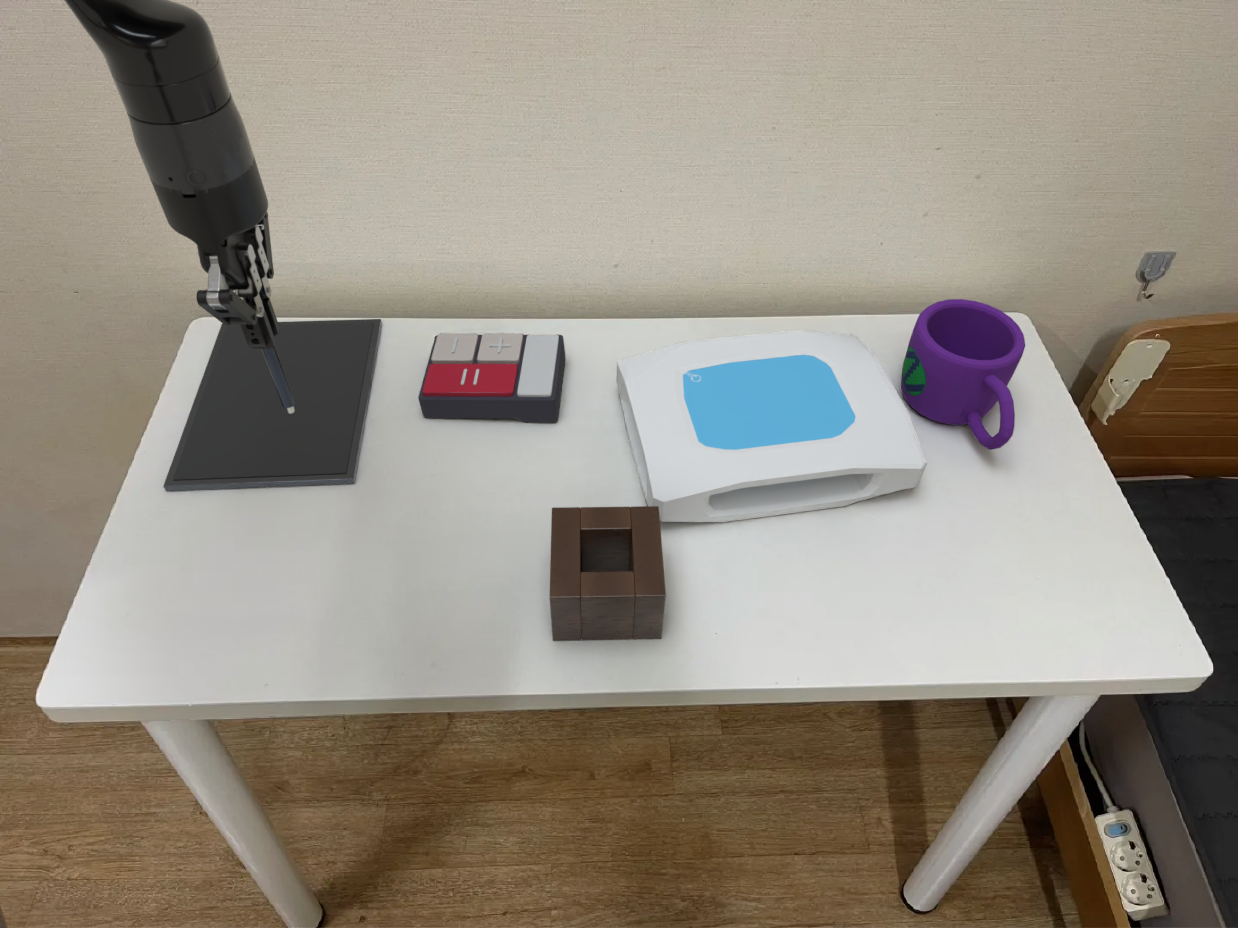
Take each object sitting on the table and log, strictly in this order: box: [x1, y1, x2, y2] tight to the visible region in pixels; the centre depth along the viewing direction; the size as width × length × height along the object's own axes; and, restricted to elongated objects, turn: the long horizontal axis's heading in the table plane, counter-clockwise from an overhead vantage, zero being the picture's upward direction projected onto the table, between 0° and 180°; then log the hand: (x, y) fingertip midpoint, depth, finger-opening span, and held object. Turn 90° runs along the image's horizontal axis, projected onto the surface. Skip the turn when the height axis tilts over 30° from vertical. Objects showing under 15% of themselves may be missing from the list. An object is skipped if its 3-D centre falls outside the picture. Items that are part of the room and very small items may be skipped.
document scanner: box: [615, 329, 928, 523], centre depth 95 cm, size 21×28×6 cm
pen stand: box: [549, 505, 667, 642], centre depth 81 cm, size 10×10×7 cm
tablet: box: [163, 318, 383, 492], centre depth 99 cm, size 26×19×1 cm
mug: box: [900, 298, 1026, 451], centre depth 96 cm, size 17×11×10 cm, turn 11°
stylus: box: [241, 297, 295, 414], centre depth 80 cm, size 1×1×14 cm
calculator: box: [418, 332, 566, 423], centre depth 100 cm, size 11×4×15 cm
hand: (264, 339), depth 79 cm, fingers closed on stylus, 1 cm apart
